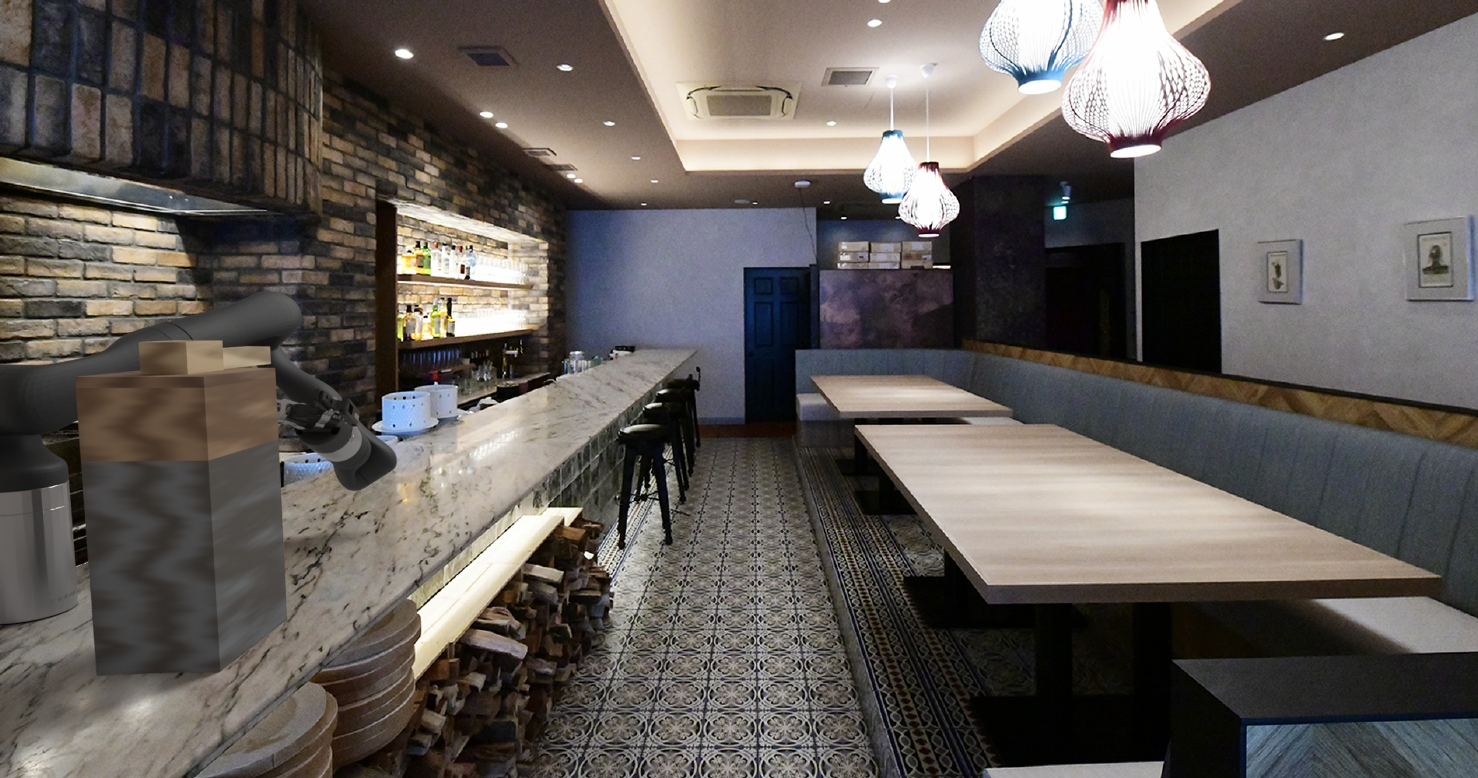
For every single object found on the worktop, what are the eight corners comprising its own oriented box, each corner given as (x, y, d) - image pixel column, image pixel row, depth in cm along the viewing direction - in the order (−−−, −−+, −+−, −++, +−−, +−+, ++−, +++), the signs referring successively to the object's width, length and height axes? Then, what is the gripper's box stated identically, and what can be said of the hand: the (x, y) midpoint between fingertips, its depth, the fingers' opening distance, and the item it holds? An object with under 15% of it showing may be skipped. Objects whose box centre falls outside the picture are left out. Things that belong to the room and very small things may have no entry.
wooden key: (140, 374, 85) (138, 342, 85) (240, 363, 105) (239, 337, 105) (187, 374, 86) (185, 342, 86) (278, 363, 106) (277, 337, 105)
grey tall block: (96, 675, 84) (74, 376, 81) (182, 621, 99) (167, 367, 96) (220, 671, 85) (203, 376, 82) (287, 618, 100) (275, 367, 97)
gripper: (290, 412, 128) (241, 370, 114) (377, 412, 130) (340, 370, 115) (280, 454, 125) (229, 416, 111) (370, 453, 127) (331, 416, 112)
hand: (285, 393), depth 113 cm, fingers open, 8 cm apart
